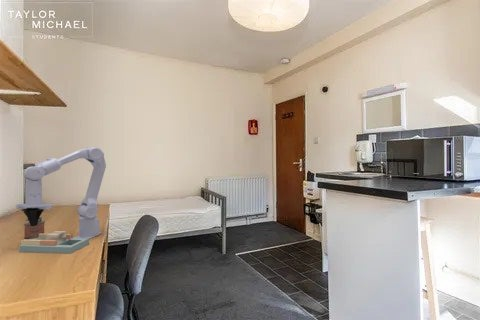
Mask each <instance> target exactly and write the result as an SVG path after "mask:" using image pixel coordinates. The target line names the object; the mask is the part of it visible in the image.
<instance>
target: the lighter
mask: <svg viewBox="0 0 480 320" xmlns="http://www.w3.org/2000/svg"><path fill="white" fill-rule="evenodd" d="M42 218H43V216H40V218H39V220H38V224H37V225H36V226H30V223H29V220H28V218H27V217H26V219H25V222H24V223H23V226H24V237H23V239H28V240H35V239H39V234H41V233H44V234H45V221H46V220H42Z"/></svg>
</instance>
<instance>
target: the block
mask: <svg viewBox="0 0 480 320" xmlns="http://www.w3.org/2000/svg"><path fill="white" fill-rule="evenodd" d="M45 234H46V240H57V244H59V243H62V242H64V241H66V234H67V231H65V230H62V231H61V230H60V231H59V230H56V231H55V230H54V231H52V232H49V233H45Z"/></svg>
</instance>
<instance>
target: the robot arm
mask: <svg viewBox="0 0 480 320" xmlns="http://www.w3.org/2000/svg"><path fill="white" fill-rule="evenodd" d="M79 159H85V160H86V161H88V162H89V163H90V164H91V166H92V167H93V168H92V172H91V176H90V179H89V183H88V187H87V189H86V193H85V197H84V198H83V200H82V201H81V202H80V203H81V204H80V205H79V206H78V207H77V209H76V210H77V212H76V213H77V215H79V218H78V235H76V236H74V238H89V240H90V239H92V238H95V237H96V236H99V235H101V234H102V232H101V230H100V229H101V228H100V227H101V221H100V219H99V217H97V215H98V212H99V209H98V205H99V203H98V197H99V192H100V188H101V186H102V182H103V179H104V174H105V171H106V168H107V163H106V160H105V153H104V151H103V150H102V149H101V148H100V147H98V146H94V147H85V148H82V149H78V150H75V151H73V152H71V153H69V154H67V155H65V156H64V155H63V156H62V157H60V158H54V157H52V158H50V157H48V158H46V160H45V161H42V162H39V163H38V162H37V163H35V164H34V165H35V166H28V167H27V168H25V170H24V172H23V176H24V178H25V186H24V191H25V192H24V193H25V197H24V200H25V201H24V202H25V203H18V204H16V205H15V210H23V209H24V210H23V213H24V215H25V216H26V218H28V220H29V221H28V222H29V223H30V226H36V225H37V224H38V220H39V218H40V217H41V215H42V214H43V212H44V211H45V210H51V209H52V204H51V203H43V192H42V191H43V183H42V181H43V180H42V179H43V177H44V176H47V175H49V174H53V173H55V172H56V171H59V170H61V168H62V166H64V165H66V164H68V163H71V162H74V161H76V160H79Z"/></svg>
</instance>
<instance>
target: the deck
mask: <svg viewBox="0 0 480 320" xmlns="http://www.w3.org/2000/svg"><path fill="white" fill-rule="evenodd" d="M46 234H47V233H45V232H44V233H41V234H39V238H35V239H24V238H23V239H21V240H20V241H21V242H20V243H21V244H20V245H18V252H19V253H36V254H37V253H39V254H41V253H43V254H46V253H47V254H73V253H75V252H77V251H78V250H80V249H82V248H84V247H86V246H88V245H90V239H89V238H75V237H72V234H71V233H66V241H64V242H62V243H59V244H57V240H46Z"/></svg>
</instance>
